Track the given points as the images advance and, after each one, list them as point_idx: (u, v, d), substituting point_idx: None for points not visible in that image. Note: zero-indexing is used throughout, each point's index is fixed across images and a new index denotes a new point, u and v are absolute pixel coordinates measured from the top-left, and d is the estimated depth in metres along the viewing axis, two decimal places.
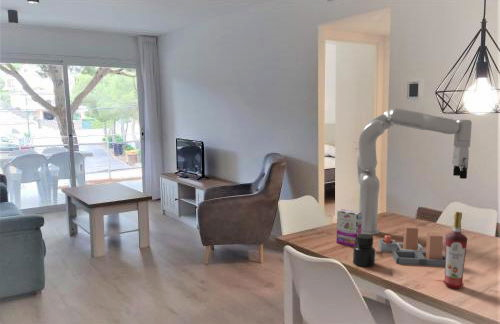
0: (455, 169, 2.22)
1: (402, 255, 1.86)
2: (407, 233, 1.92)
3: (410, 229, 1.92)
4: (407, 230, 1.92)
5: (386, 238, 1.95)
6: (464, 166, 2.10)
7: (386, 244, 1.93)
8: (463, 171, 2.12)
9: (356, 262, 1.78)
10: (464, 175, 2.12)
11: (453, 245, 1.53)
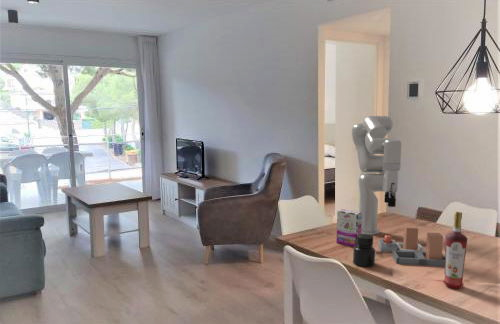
0: (386, 195, 1.98)
1: (402, 255, 1.86)
2: (407, 233, 1.92)
3: (410, 229, 1.92)
4: (407, 230, 1.92)
5: (386, 238, 1.95)
6: (391, 193, 1.87)
7: (386, 244, 1.93)
8: (391, 198, 1.89)
9: (356, 262, 1.78)
10: (392, 203, 1.89)
11: (453, 245, 1.53)
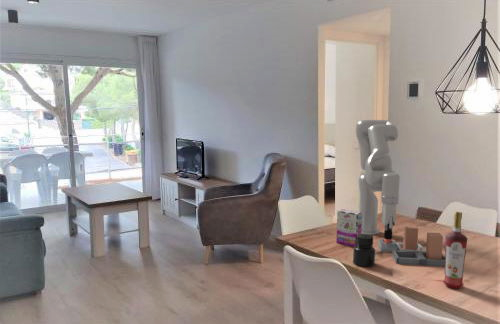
0: None
1: (402, 255, 1.86)
2: (407, 233, 1.92)
3: (410, 229, 1.92)
4: (407, 230, 1.92)
5: (386, 240, 1.96)
6: (388, 226, 1.93)
7: (386, 244, 1.93)
8: (388, 231, 1.95)
9: (356, 262, 1.78)
10: (389, 236, 1.95)
11: (453, 245, 1.53)
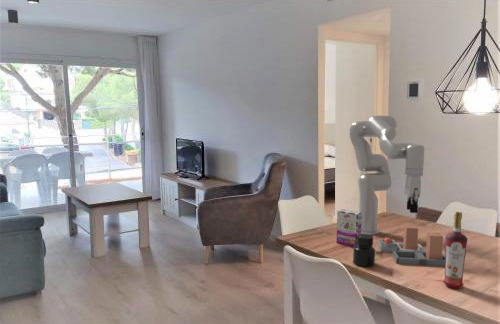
0: (409, 202, 1.96)
1: (402, 255, 1.86)
2: (407, 233, 1.92)
3: (410, 229, 1.92)
4: (407, 230, 1.92)
5: (386, 241, 1.96)
6: (414, 199, 1.87)
7: (386, 244, 1.93)
8: (413, 205, 1.89)
9: (356, 262, 1.78)
10: (414, 209, 1.89)
11: (453, 245, 1.53)
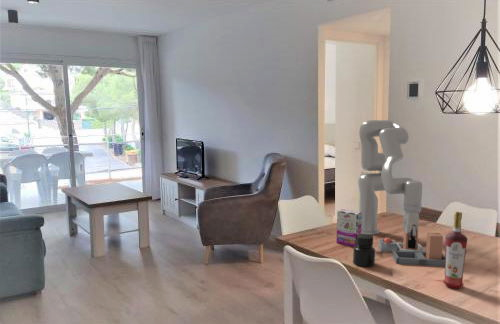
0: None
1: (402, 255, 1.86)
2: (407, 233, 1.92)
3: None
4: None
5: (386, 241, 1.96)
6: (412, 236, 1.89)
7: (386, 244, 1.93)
8: (411, 240, 1.91)
9: (356, 262, 1.78)
10: (412, 245, 1.91)
11: (453, 245, 1.53)
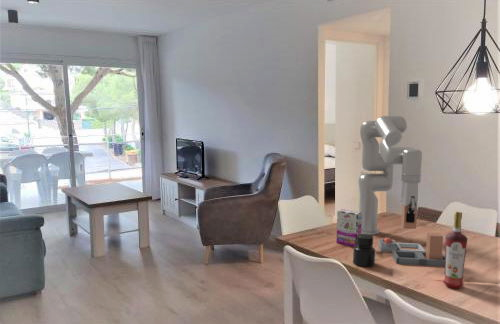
0: None
1: (402, 255, 1.86)
2: (405, 206, 1.77)
3: None
4: None
5: (386, 241, 1.96)
6: (410, 208, 1.74)
7: (386, 244, 1.93)
8: (410, 214, 1.76)
9: (356, 262, 1.78)
10: (411, 219, 1.76)
11: (453, 245, 1.53)
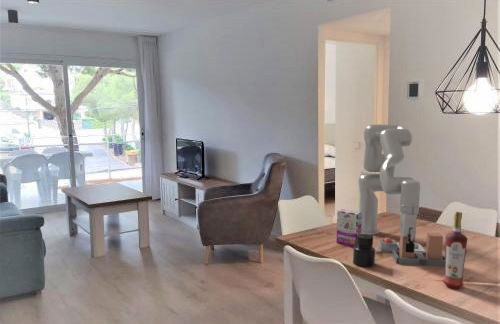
0: None
1: None
2: (403, 240, 1.79)
3: None
4: (403, 237, 1.79)
5: (386, 241, 1.96)
6: (410, 239, 1.74)
7: (386, 244, 1.93)
8: (409, 244, 1.76)
9: (356, 262, 1.78)
10: (410, 249, 1.76)
11: (453, 245, 1.53)
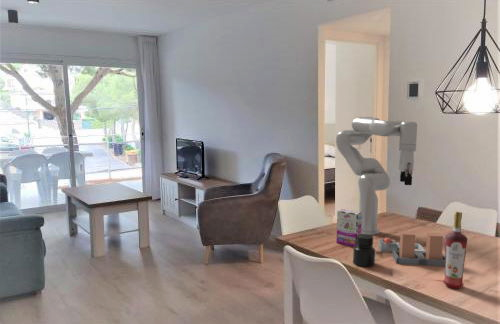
0: (402, 175, 2.07)
1: None
2: (403, 240, 1.79)
3: (407, 236, 1.79)
4: (403, 237, 1.79)
5: (386, 241, 1.96)
6: (408, 172, 1.95)
7: (386, 244, 1.93)
8: (408, 177, 1.97)
9: (356, 262, 1.78)
10: (409, 181, 1.97)
11: (453, 245, 1.53)
